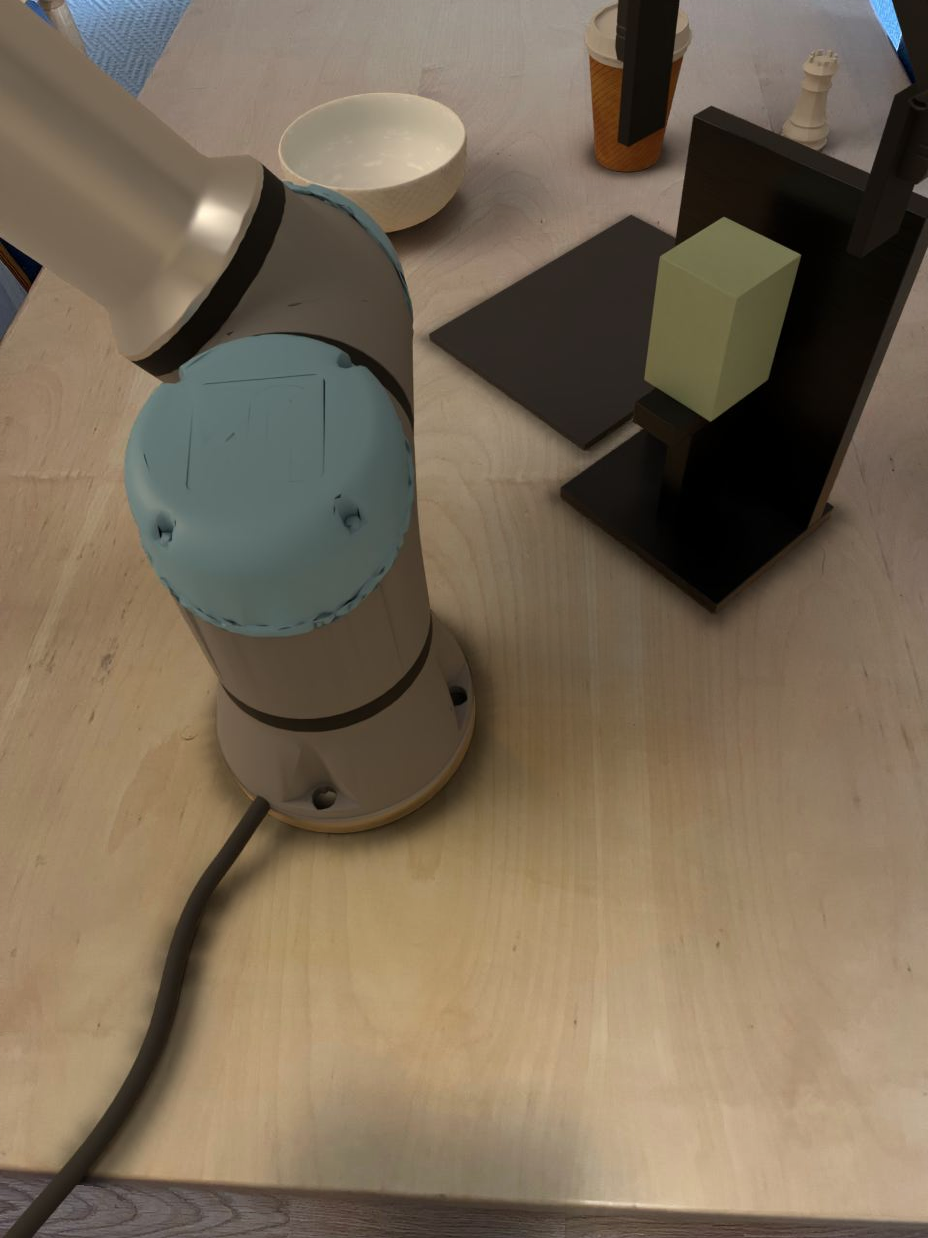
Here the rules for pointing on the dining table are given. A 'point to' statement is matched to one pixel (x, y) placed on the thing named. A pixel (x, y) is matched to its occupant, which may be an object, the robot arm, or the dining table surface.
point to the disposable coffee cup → (608, 92)
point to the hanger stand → (797, 384)
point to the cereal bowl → (380, 154)
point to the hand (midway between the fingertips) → (747, 184)
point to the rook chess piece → (812, 102)
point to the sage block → (718, 316)
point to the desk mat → (571, 332)
